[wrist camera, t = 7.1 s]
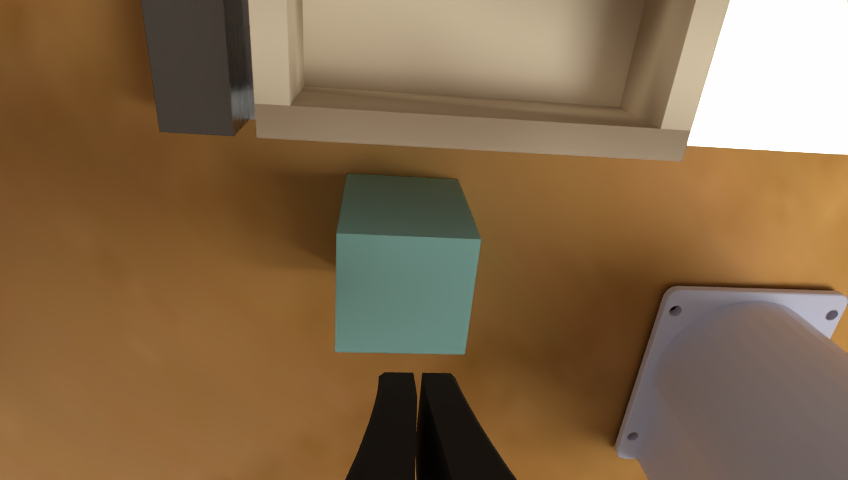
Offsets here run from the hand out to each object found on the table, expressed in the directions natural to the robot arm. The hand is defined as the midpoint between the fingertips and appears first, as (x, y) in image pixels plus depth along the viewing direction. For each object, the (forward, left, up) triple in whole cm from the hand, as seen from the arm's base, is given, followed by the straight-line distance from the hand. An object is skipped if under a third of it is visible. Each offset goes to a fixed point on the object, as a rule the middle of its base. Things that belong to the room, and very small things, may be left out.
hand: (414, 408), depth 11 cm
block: (0, 0, -10) cm, 10 cm away
